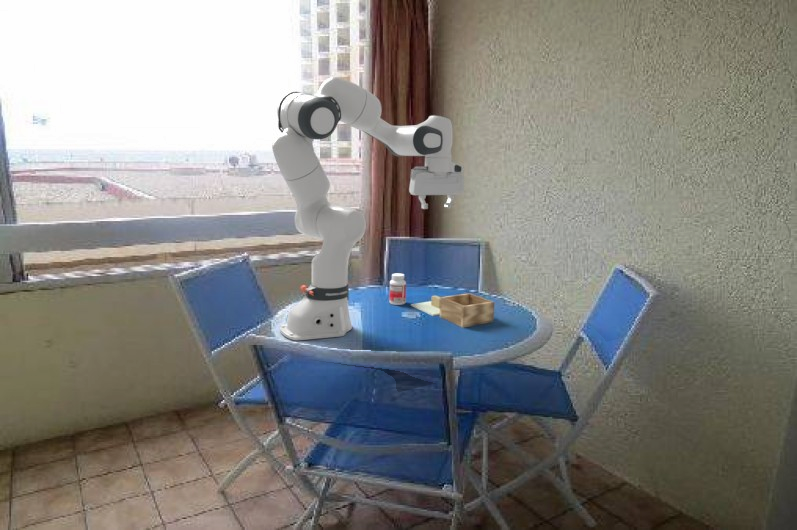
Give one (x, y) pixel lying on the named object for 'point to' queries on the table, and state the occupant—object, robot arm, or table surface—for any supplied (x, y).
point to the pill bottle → (397, 289)
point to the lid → (429, 306)
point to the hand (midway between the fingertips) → (436, 208)
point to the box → (466, 310)
